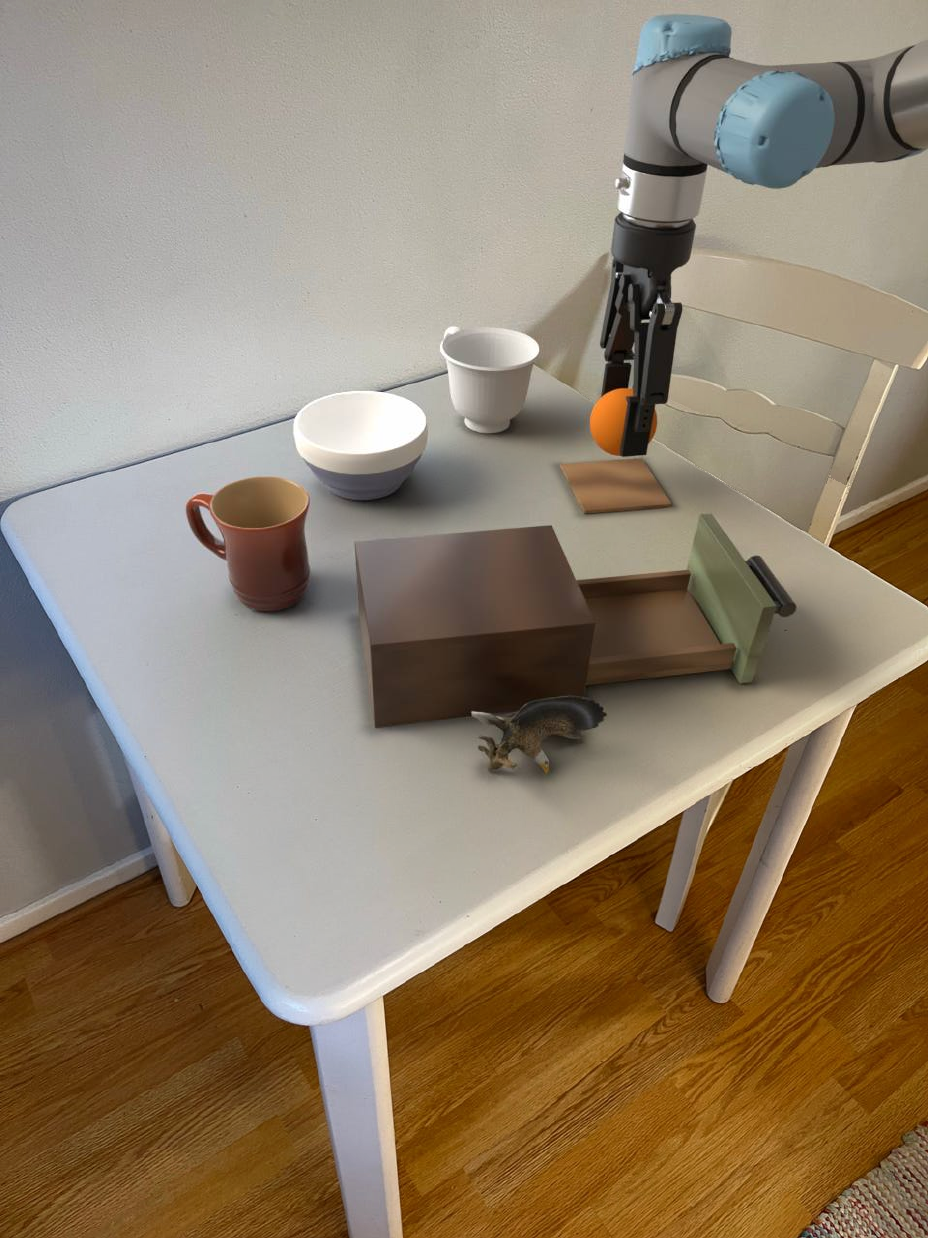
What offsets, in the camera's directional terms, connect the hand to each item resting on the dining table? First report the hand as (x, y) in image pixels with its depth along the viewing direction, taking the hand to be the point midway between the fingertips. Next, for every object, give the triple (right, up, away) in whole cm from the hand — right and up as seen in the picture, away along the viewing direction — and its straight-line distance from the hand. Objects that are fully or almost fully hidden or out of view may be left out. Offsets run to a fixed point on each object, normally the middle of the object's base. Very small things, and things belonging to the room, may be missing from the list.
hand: (621, 435), depth 98 cm
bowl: (-29, -5, +4) cm, 29 cm away
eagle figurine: (-12, -31, -27) cm, 43 cm away
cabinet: (-17, -24, -19) cm, 35 cm away
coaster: (0, -5, +4) cm, 6 cm away
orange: (0, -2, +1) cm, 2 cm away
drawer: (0, -22, -16) cm, 27 cm away
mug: (-37, -17, -12) cm, 43 cm away
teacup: (-15, +5, +16) cm, 23 cm away
